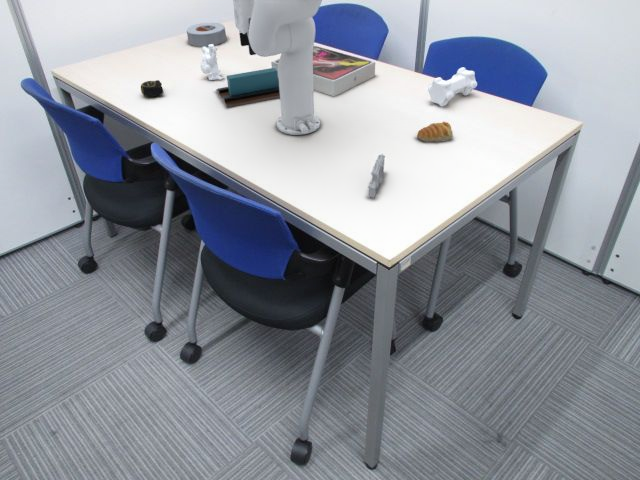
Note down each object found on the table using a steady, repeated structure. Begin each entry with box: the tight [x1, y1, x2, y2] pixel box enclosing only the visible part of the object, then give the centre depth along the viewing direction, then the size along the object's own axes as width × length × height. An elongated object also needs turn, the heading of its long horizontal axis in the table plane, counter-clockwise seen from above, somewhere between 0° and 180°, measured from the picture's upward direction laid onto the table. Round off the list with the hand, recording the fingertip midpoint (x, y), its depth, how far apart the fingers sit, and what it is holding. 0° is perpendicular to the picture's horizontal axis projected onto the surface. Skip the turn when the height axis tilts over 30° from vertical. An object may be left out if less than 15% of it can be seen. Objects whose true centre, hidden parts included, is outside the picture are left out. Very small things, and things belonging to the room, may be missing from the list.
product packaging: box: [270, 44, 376, 97], centre depth 183 cm, size 22×28×5 cm
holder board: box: [215, 78, 280, 109], centre depth 174 cm, size 14×22×2 cm, turn 112°
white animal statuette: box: [199, 44, 223, 81], centre depth 182 cm, size 8×7×12 cm
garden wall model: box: [367, 153, 386, 199], centre depth 127 cm, size 12×2×6 cm, turn 163°
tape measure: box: [140, 79, 164, 98], centre depth 175 cm, size 7×7×4 cm
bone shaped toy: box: [427, 66, 478, 107], centre depth 164 cm, size 15×9×8 cm, turn 131°
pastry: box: [416, 121, 454, 143], centre depth 146 cm, size 9×7×4 cm
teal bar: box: [226, 67, 279, 96], centre depth 172 cm, size 16×3×6 cm, turn 112°
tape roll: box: [186, 22, 227, 48], centre depth 216 cm, size 15×15×5 cm
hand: (250, 49), depth 165 cm, fingers open, 9 cm apart
